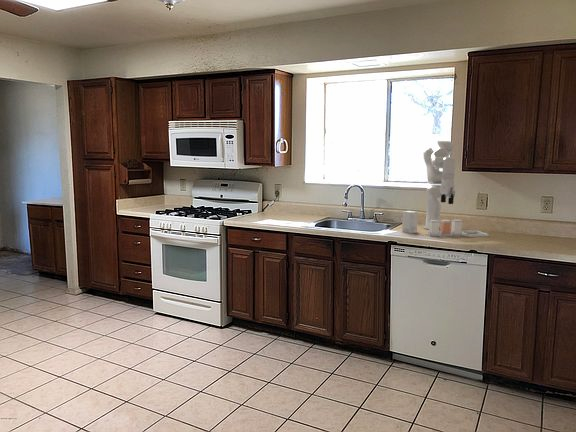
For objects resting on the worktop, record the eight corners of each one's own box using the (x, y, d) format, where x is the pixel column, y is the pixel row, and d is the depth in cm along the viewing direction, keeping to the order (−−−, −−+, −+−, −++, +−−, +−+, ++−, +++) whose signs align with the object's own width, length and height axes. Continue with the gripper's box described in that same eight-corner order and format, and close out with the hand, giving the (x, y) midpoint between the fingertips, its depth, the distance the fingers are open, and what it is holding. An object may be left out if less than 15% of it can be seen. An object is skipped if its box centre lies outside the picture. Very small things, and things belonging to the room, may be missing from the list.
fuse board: (424, 236, 308) (424, 230, 307) (457, 235, 312) (458, 229, 311) (431, 239, 298) (431, 233, 297) (465, 238, 302) (466, 232, 301)
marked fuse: (439, 234, 306) (440, 219, 305) (446, 234, 307) (447, 219, 305) (442, 235, 302) (443, 220, 301) (449, 235, 303) (450, 220, 302)
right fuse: (451, 234, 307) (452, 219, 306) (458, 234, 308) (459, 219, 307) (454, 235, 303) (455, 220, 302) (461, 235, 304) (462, 220, 303)
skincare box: (417, 234, 314) (418, 211, 312) (410, 235, 311) (411, 212, 309) (408, 232, 322) (409, 210, 319) (401, 233, 318) (402, 210, 316)
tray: (457, 235, 314) (458, 230, 313) (476, 234, 316) (476, 230, 315) (468, 239, 300) (469, 234, 300) (488, 238, 303) (488, 234, 302)
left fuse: (428, 235, 305) (429, 220, 303) (435, 234, 306) (436, 219, 304) (431, 236, 301) (432, 221, 299) (438, 236, 302) (439, 220, 300)
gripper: (436, 176, 307) (435, 201, 309) (449, 177, 290) (448, 204, 292) (447, 176, 308) (445, 201, 310) (460, 177, 291) (459, 204, 293)
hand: (446, 203), depth 301 cm, fingers open, 9 cm apart
